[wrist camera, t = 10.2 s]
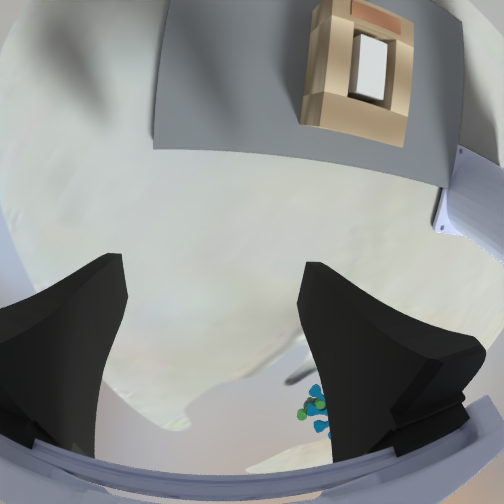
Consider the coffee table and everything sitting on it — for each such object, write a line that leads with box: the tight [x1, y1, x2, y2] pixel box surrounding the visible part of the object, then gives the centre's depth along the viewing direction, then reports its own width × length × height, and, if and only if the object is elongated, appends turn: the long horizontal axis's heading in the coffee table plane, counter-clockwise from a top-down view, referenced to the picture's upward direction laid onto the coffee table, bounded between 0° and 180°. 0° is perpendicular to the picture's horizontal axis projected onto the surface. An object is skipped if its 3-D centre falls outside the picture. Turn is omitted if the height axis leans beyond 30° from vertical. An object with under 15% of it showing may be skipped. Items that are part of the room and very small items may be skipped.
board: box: [153, 0, 464, 189], centre depth 11 cm, size 22×16×4 cm
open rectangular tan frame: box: [299, 0, 414, 148], centre depth 12 cm, size 8×5×4 cm, turn 174°
